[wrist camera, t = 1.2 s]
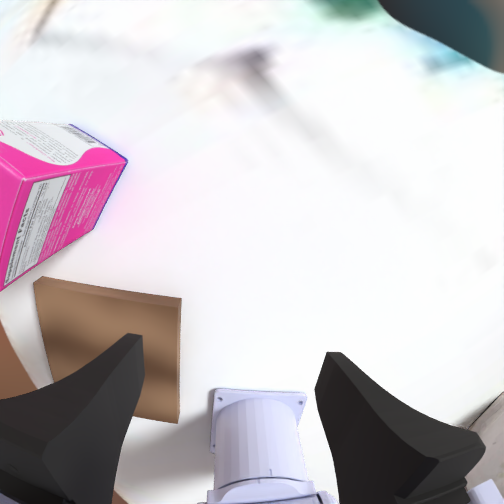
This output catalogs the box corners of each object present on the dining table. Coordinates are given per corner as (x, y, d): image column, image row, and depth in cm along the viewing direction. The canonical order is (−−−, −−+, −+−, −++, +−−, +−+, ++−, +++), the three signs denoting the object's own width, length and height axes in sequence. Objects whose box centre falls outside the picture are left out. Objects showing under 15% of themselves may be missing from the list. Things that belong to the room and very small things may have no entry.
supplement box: (38, 193, 19) (-75, 230, 8) (71, 122, 18) (-47, 110, 7) (93, 233, 20) (-9, 301, 9) (132, 160, 19) (26, 169, 8)
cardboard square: (180, 408, 26) (177, 423, 24) (66, 384, 25) (58, 396, 23) (182, 295, 22) (178, 307, 20) (45, 273, 21) (33, 282, 19)
